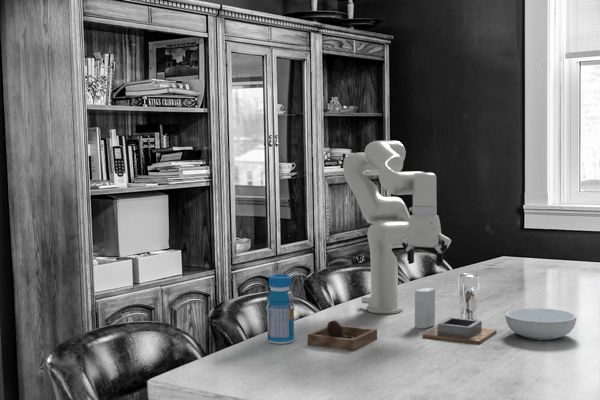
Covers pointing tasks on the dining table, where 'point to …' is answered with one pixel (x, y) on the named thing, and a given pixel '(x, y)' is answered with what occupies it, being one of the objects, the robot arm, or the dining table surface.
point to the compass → (336, 330)
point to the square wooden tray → (360, 334)
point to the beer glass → (468, 295)
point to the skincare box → (424, 308)
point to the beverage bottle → (280, 310)
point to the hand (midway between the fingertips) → (425, 264)
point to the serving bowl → (540, 322)
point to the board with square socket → (460, 331)
